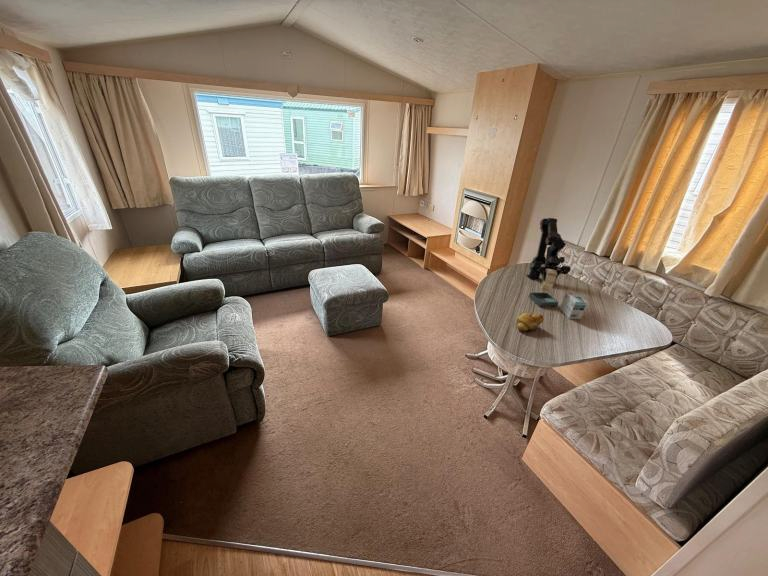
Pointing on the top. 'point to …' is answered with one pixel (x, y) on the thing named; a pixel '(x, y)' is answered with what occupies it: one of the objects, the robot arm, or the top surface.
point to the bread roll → (529, 321)
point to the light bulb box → (573, 305)
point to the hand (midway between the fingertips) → (549, 281)
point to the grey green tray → (543, 299)
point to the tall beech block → (548, 281)
